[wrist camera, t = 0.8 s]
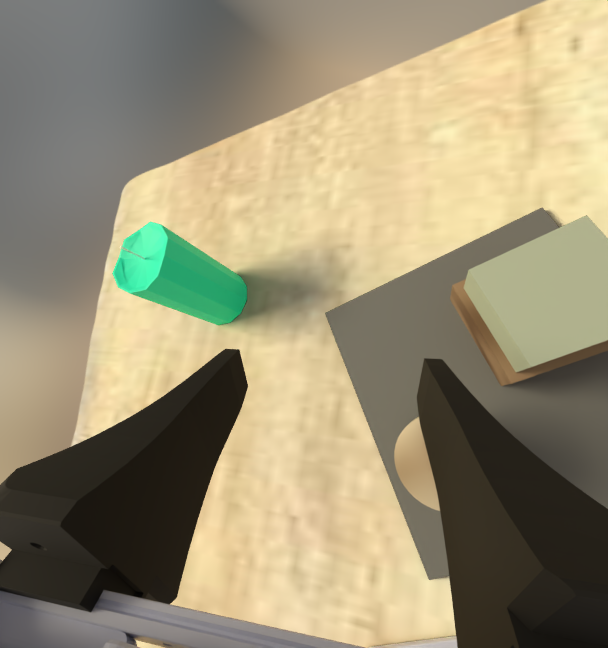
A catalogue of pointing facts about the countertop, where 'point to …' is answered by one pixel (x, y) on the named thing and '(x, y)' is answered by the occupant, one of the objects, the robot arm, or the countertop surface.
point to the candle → (178, 276)
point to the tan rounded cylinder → (415, 465)
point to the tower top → (545, 294)
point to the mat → (467, 377)
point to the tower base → (495, 353)
